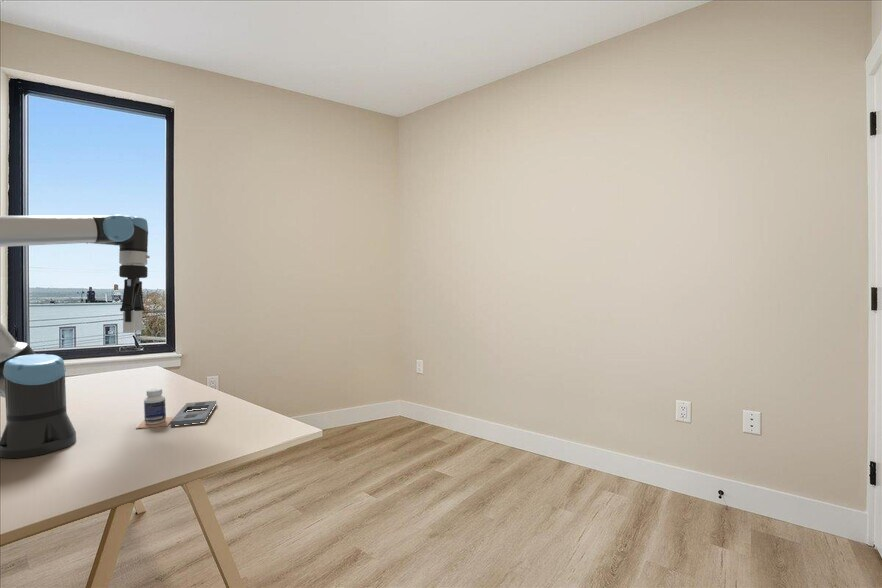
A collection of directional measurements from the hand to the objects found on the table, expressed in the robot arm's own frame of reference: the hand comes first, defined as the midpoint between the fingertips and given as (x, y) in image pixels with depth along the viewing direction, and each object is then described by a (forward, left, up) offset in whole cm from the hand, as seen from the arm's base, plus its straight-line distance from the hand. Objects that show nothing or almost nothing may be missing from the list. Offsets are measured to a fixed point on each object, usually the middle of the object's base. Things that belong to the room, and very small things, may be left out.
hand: (133, 331), depth 146 cm
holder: (-9, -19, -26) cm, 34 cm away
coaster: (-14, -9, -26) cm, 31 cm away
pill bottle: (-14, -9, -26) cm, 31 cm away
